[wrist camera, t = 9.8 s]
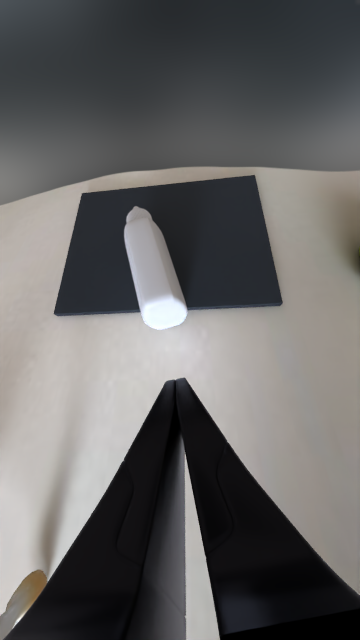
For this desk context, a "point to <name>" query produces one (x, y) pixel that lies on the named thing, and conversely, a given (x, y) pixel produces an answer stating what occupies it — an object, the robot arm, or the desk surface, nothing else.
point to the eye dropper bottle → (153, 272)
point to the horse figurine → (22, 601)
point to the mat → (173, 247)
